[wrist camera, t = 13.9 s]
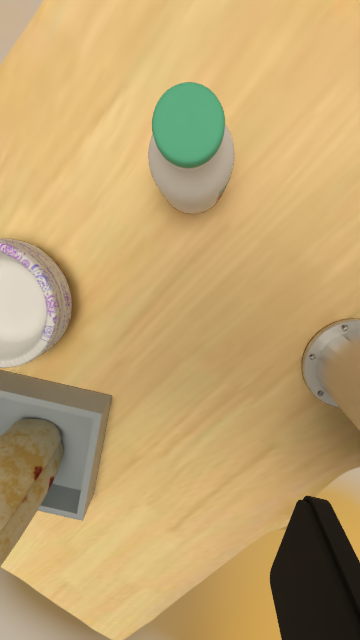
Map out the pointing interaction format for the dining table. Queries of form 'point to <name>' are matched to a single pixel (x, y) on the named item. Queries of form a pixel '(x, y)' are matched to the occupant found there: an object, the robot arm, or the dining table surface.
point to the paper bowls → (30, 303)
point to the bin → (61, 434)
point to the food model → (25, 475)
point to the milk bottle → (190, 148)
